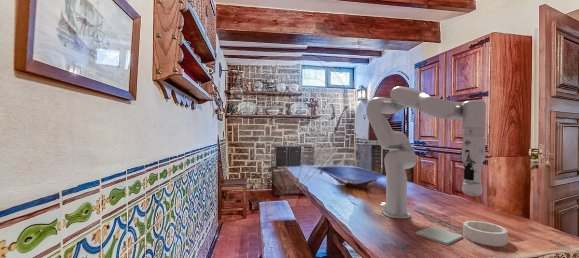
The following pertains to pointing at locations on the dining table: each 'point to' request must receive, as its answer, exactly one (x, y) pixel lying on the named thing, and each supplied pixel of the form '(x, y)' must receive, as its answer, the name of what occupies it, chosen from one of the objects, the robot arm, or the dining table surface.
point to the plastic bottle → (474, 186)
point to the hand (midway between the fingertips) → (472, 178)
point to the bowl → (485, 233)
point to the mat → (439, 235)
